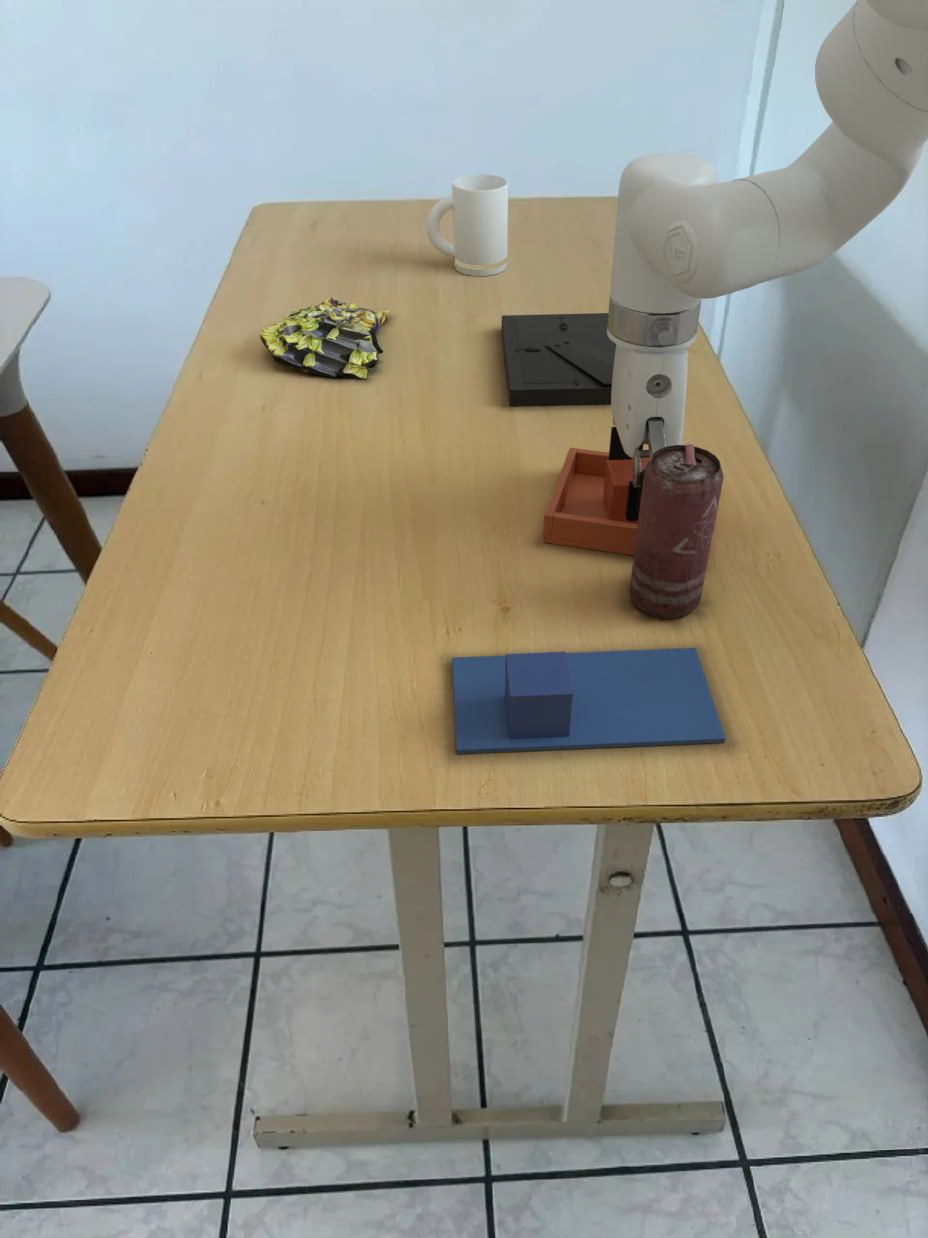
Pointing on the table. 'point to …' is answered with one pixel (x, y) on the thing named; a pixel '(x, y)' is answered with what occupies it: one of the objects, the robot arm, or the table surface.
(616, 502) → the terracotta block
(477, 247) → the mug
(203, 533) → the table surface
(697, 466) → the can
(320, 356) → the banana patterned fabric
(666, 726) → the blue mat
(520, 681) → the blue block
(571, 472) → the terracotta tray
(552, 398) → the picture frame
